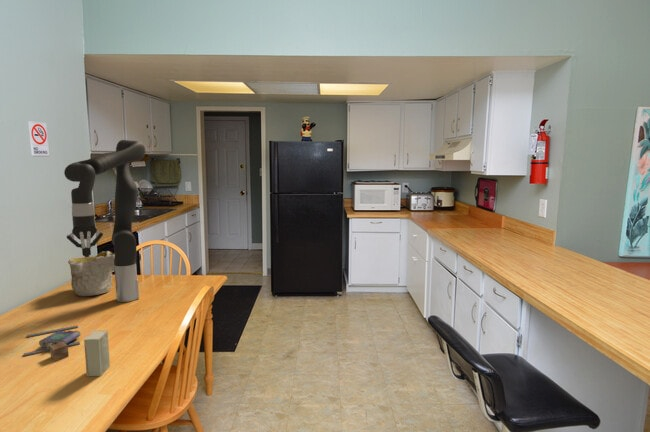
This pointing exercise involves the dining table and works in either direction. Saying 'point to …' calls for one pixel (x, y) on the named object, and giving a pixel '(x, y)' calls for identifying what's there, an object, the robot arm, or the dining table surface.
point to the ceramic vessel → (92, 274)
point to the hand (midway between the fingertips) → (86, 256)
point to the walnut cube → (59, 351)
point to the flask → (59, 338)
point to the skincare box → (97, 353)
